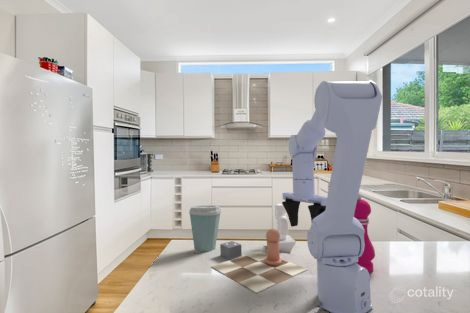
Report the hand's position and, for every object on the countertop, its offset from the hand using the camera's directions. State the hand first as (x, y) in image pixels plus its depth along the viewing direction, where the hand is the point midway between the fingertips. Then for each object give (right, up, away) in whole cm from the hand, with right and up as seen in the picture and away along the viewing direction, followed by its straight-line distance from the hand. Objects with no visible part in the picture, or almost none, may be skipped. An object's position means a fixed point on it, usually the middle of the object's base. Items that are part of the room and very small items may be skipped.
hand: (304, 228), depth 71 cm
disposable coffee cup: (-29, -12, +14) cm, 34 cm away
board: (-13, -11, -3) cm, 17 cm away
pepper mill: (+14, -10, -2) cm, 18 cm away
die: (-20, -11, +7) cm, 24 cm away
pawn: (-8, -10, +1) cm, 13 cm away
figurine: (-4, -11, +13) cm, 18 cm away
